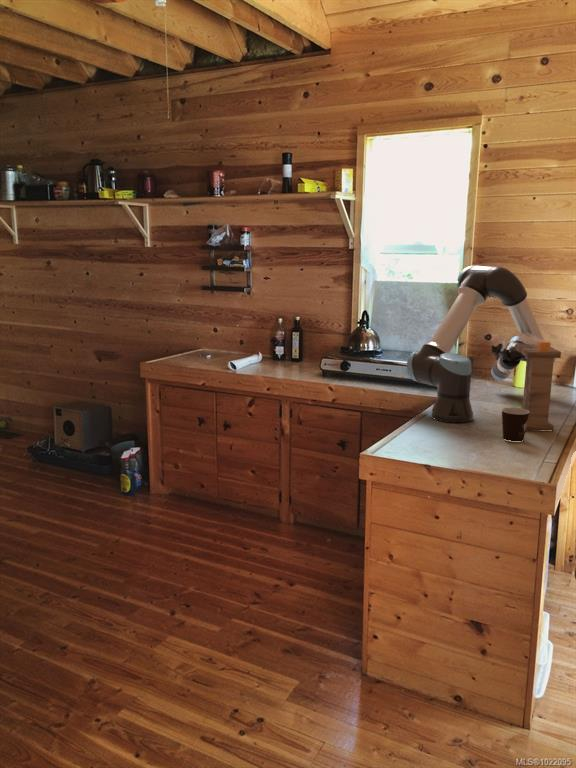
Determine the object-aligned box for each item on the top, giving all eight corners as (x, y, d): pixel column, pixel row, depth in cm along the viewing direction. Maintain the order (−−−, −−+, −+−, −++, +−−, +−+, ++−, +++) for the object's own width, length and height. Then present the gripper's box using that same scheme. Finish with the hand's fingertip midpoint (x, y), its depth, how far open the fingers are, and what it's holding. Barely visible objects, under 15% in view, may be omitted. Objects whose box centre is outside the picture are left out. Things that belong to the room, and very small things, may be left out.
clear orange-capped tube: (549, 352, 222) (550, 342, 221) (539, 351, 222) (539, 342, 221) (527, 340, 247) (528, 331, 246) (518, 339, 247) (518, 331, 246)
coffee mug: (513, 445, 213) (515, 415, 210) (494, 438, 220) (496, 409, 218) (539, 440, 218) (541, 411, 216) (519, 433, 225) (521, 405, 223)
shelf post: (553, 431, 228) (561, 352, 221) (521, 430, 228) (527, 351, 222) (539, 418, 243) (546, 344, 237) (509, 418, 244) (515, 344, 238)
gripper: (540, 370, 266) (558, 352, 246) (478, 369, 268) (491, 351, 248) (539, 353, 269) (556, 333, 248) (477, 352, 270) (489, 332, 250)
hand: (523, 342), depth 248 cm, fingers open, 13 cm apart
